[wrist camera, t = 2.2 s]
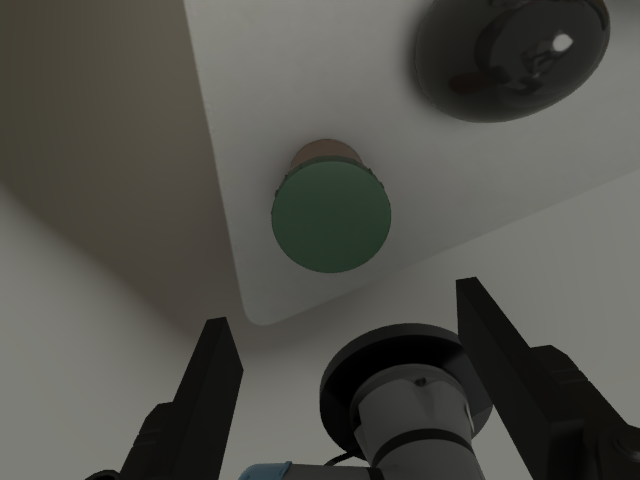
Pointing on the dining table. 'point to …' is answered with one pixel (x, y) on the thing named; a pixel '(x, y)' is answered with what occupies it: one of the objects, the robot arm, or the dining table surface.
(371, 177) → the lid
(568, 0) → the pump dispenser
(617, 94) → the dining table surface
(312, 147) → the jar
